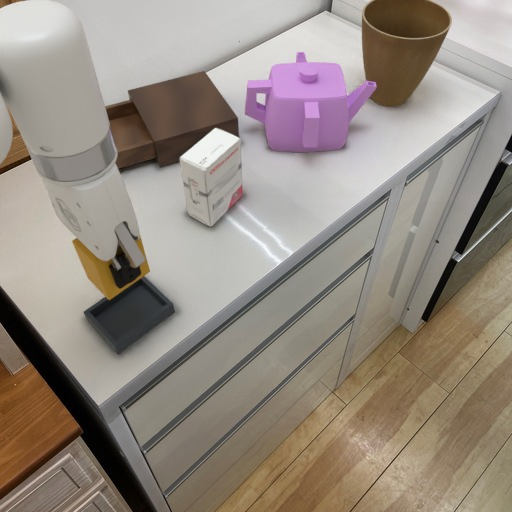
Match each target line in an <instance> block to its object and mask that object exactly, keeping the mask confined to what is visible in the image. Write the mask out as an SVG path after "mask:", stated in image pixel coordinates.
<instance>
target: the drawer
mask: <svg viewBox="0 0 512 512" xmlns="http://www.w3.org/2000/svg"><path fill="white" fill-rule="evenodd" d="M105 108H106V112H107V115H108V119H109V122H110V126H111V129H112V133H113V137H114V140H115V144H116V148H117V160H116V162H115V164H116V165H117V168H118V170H119V169H123V168H125V167H128V166H133V165H135V164H139V163H142V162H145V161H150V160H153V159H155V158H156V157H157V156H156V151H155V145H154V142H153V140H152V138H151V136H150V134H149V132H148V130H147V128H146V126H145V125H144V123H143V121H142V119H141V117H140V115H139V113H138V111H137V110H136V108H135V106H134V104H133V102H132V100H130V99H127V100H123V101H119V102H117V103H112V104H109V105H105Z"/></svg>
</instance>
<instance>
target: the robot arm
mask: <svg viewBox="0 0 512 512" xmlns="http://www.w3.org/2000/svg"><path fill="white" fill-rule="evenodd" d="M105 106H106V105H105V100H104V98H103V93H102V91H101V87H100V83H99V79H98V76H97V72H96V68H95V64H94V61H93V57H92V54H91V50H90V46H89V43H88V39H87V36H86V33H85V30H84V27H83V24H82V22H81V20H80V19H79V16H78V15H77V14H76V13H75V12H74V11H73V10H72V9H71V8H70V7H69V6H67V5H65V4H63V3H61V2H58V1H55V0H20V1H17V2H13V3H10V4H6V5H5V6H2V7H0V165H1V164H2V163H3V162H4V161H5V159H6V158H7V156H8V155H9V152H10V150H11V148H12V142H13V138H14V137H13V136H14V133H13V131H14V130H13V129H14V128H13V122H12V118H13V120H14V122H15V125H16V127H17V129H18V132H19V134H20V137H21V138H22V141H23V143H24V145H25V147H26V150H27V151H28V154H29V156H30V158H31V161H32V163H33V166H34V167H35V170H36V172H37V174H38V175H39V177H40V178H41V179H42V180H43V184H44V187H45V190H46V192H47V195H48V197H49V199H50V203H51V205H52V208H53V210H54V213H55V215H56V217H57V218H58V220H59V221H60V222H61V224H63V226H64V227H66V228H67V230H68V231H69V232H70V233H71V234H72V235H73V236H74V237H75V239H76V238H77V239H78V240H79V241H80V242H82V243H83V244H84V245H85V246H86V247H87V248H88V249H89V250H90V251H91V252H92V253H93V254H94V255H95V256H96V257H97V258H99V259H100V260H103V261H109V260H110V262H111V265H110V266H109V268H110V270H111V273H112V276H113V279H114V281H115V284H116V286H117V287H118V288H119V289H121V288H123V287H124V286H126V285H127V284H129V283H131V282H133V281H134V280H135V279H136V278H137V277H139V276H140V275H141V269H140V265H141V264H143V263H144V262H146V259H145V258H144V256H143V254H142V253H141V251H140V249H139V248H138V246H137V244H136V243H135V240H136V241H139V238H140V236H141V232H140V227H139V223H138V219H137V215H136V212H135V209H134V206H133V203H132V201H131V198H130V197H131V196H130V195H129V192H128V189H127V187H126V185H125V182H124V180H123V177H122V175H121V172H120V170H119V169H118V168H117V165H116V164H115V162H116V160H117V148H116V144H115V140H114V137H113V133H112V129H111V126H110V122H109V119H108V115H107V112H106V108H105ZM8 109H9V110H8ZM9 111H10V112H9ZM10 114H11V115H12V118H11V115H10ZM120 247H121V248H122V249H123V251H124V253H122V254H121V255H119V256H118V257H117V256H116V251H117V249H119V248H120Z"/></svg>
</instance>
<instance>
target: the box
mask: <svg viewBox="0 0 512 512" xmlns="http://www.w3.org/2000/svg"><path fill="white" fill-rule="evenodd" d="M142 240H143V239H142V236H141V235H140V238H139V241H136V240H135V243H136V244H137V246H138V248H139V249H140V251H141V253H142V254H143V256H144V258H145V259H146V262H144V263H143V264H141V265H140V269H141V275H140V276H139V277H137V278H136V279H135V280H134V281H133V282H131V283H129V284H127V285H126V286H124V287H123V288H121V289H119V288H118V287H117V286H116V284H115V281H114V279H113V276H112V273H111V270H110V268H109V266H110V265H111V262H110V260H109V261H103V260H100V259H99V258H97V257H96V256H95V255H94V254H93V253H92V252H91V251H90V250H89V249H88V248H87V247H86V246H85V245H84V244H83V243H82V242H80V241H79V240H78V239H77V238H76V237H75V238H74V239H72V241H71V243H72V245H73V247H74V249H75V252H76V254H77V256H78V259H79V261H80V263H81V265H82V269H83V270H84V273H85V275H86V277H87V279H88V280H89V281H90V282H91V283H92V284H93V286H94V287H96V289H97V290H98V291H100V293H101V294H102V295H103V296H104V297H106V298H107V299H108V300H110V299H112V298H113V297H115V296H116V295H118V294H119V293H120V292H122V291H123V290H125V289H126V288H128V287H129V286H130V285H132V284H133V283H135V282H136V281H138V280H139V279H140V278H142V277H143V276H145V277H146V276H147V275H148V274H149V273H151V269H150V266H149V262H148V259H147V255H146V251H145V247H144V244H143V241H142ZM122 253H124V251H123V249H122V248H121V247H120V248H119V249H117V251H116V256H117V257H118V256H119V255H121V254H122Z"/></svg>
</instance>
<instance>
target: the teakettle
mask: <svg viewBox="0 0 512 512" xmlns="http://www.w3.org/2000/svg"><path fill="white" fill-rule="evenodd" d="M376 87H377V86H376V82H371V81H366V80H365V81H364V82H363V83H362V84H361V85H359V86H358V87H357V88H356V89H354V90H353V91H352V92H351V93H349V94H348V91H347V85H346V81H345V76H344V72H343V69H342V66H341V64H339V63H336V62H325V61H324V62H323V61H319V62H317V61H316V62H315V61H308V60H307V57H306V52H305V51H296V54H295V62H285V63H277V64H273V65H272V66H271V68H270V72H269V76H268V79H250V80H247V84H246V93H245V95H246V96H245V105H244V115H245V116H247V117H249V118H250V119H253V120H255V121H258V122H260V123H262V124H264V129H265V136H266V141H267V144H268V146H269V148H270V150H272V151H275V152H276V151H277V152H287V153H316V152H318V153H319V152H326V151H327V152H328V151H329V152H330V151H336V150H340V149H342V148H343V147H344V146H345V144H346V142H347V139H348V136H349V126H350V123H351V121H352V120H353V119H354V117H355V116H356V115H357V114H358V113H359V111H360V110H361V109H362V108H363V106H364V105H365V103H366V102H367V101H368V100H369V98H370V96H371V94H372V93H373V92H374V90H375V89H376ZM257 94H263V95H264V94H265V97H264V104H263V103H260V102H258V101H257V100H258V99H257Z"/></svg>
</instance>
